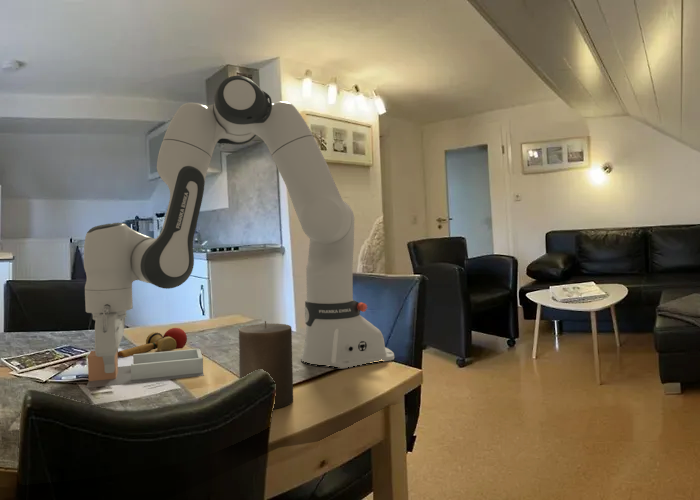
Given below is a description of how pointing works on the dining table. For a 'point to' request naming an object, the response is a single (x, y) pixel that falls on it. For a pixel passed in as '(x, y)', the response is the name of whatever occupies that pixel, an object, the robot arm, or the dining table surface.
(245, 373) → the pillar candle
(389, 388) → the dining table surface
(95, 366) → the terracotta block
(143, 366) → the channel
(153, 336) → the kendama
